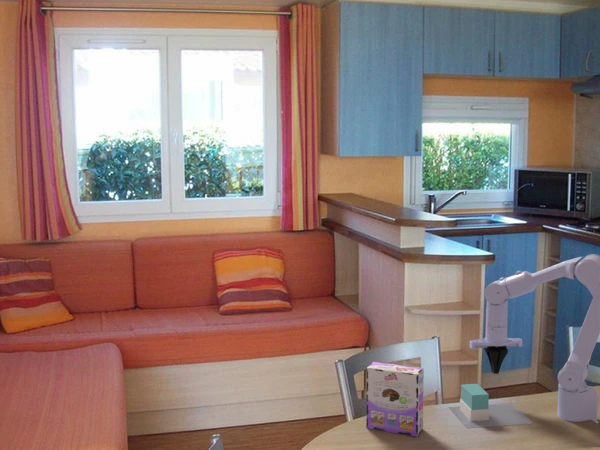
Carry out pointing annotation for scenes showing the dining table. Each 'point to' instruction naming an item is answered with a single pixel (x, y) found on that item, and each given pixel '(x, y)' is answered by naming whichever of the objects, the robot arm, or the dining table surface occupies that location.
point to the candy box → (394, 398)
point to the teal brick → (474, 396)
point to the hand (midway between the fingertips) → (495, 372)
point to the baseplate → (490, 415)
